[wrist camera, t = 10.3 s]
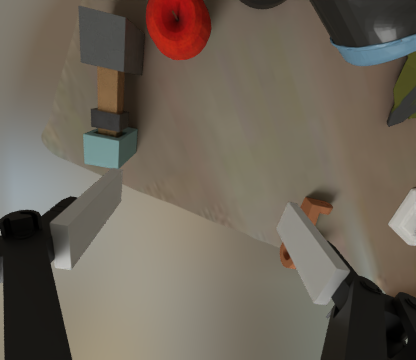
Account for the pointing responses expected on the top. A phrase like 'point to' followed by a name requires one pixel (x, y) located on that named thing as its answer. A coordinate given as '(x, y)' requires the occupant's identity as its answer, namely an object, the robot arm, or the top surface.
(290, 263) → the crank
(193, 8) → the apple
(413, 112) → the toy airplane
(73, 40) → the top surface
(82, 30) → the sleeve
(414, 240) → the big headed doll
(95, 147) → the socket block
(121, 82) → the collared tan post
